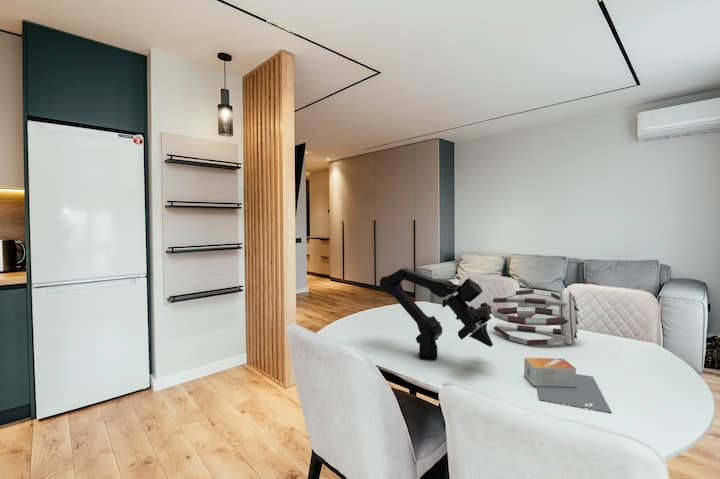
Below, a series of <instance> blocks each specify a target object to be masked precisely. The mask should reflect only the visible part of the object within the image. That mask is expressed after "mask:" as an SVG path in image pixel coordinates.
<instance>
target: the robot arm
mask: <svg viewBox="0 0 720 479" xmlns="http://www.w3.org/2000/svg"><path fill="white" fill-rule="evenodd" d="M404 281H407V282H410V283H413V284H415V285H417V286H420V287H423V288H425V289H428V290H429V291H430V292H431V293H432V294H433V295H436V296H437V297H439V298H444V299H442V303H441V304H442V305H441V307H442V308H445V307H447V306H448V307H449V308H450V309H451V311H452V312H453V314H455V316H456V317H455V319H456V321H458V320H460V322H461V324H462V325H463V327H462V328H461V329H459V330H458V331H457V336H458V337H459V339H460V340H462V341H463V339H465V338H466V337H469V338H471V339H474V340H476V341H477V342H480V343H482V344H483V345H486V346H488V347H489V348H492V347H493V346H494V344H493V342H492V339H491V337H490V335H489V332H488V330H487V326H488V321H490V320H491V319H492V317H491V315H492V314H493V312H492V310H491V309H492V306H490V304H489V303H487V301H486V302H482V303H481V304H480V306H479V307H477V308H475V307H474V306H472V305H469V304H468V303H472V302H473V301H474V300H475V299H476V298H477V297H478V296H480V295H481V294H482V293H483V289H482V287H481V285H480V284H478V283H476V282H475V281H474V280H472V279H471V278H467V279H465V280H464V281H463V283H462V284H460V285H459V284H455V283H454V282H453V281H452V280H448V279H443V278H441V279H440V278H434V277H430V276H428V275H425V274H422V273H419V272H416V271H415V270H411V269H409V268H407V267H405V268H400V269H398V270H396V271H395V272H393V273H391V274H390V275H386V276H382V277H381V278H380V280H379V287H380V289H381V290H382V291H383V292H385V293H386V294H388V295H390V296H392V297H393V298H394V299H395V300H396V302H398V303H399V304H400V306H402V308H403V309H404V310H405V311H406V313H407V314H408V315H409V316H410V317H411V318H412V320H414V322H415V323H416V325H417V328H418V331H419V333H420V334H418V335H417V336H416V337H415V340H416V341H415V342H416V343H417V344H418V345H419V346H418V347H419V349H418V350H419V352H418V358H419V360H426V361H427V360H430V361H436V360H437V358H438V344H437V342H436V341H437V340H439V337H441V336H442V334H443V326H442V325H441V324H442V323H441V322H440V321H439V320H438V319H437V318H436V316H434V315H431V316H428V315H426V314H425V313H424V311H423V310H422V309H421V308H420V307H419V306H418V304H416V302H415V301H414V300H413V299H412V298H411V297H410V295H408V293H407V292H406V291H405V290H404V289H403V284H402V282H404ZM454 294H455V295H454ZM448 296H449V297H448ZM446 297H448V298H446ZM467 302H468V303H467ZM468 335H469V336H468Z"/></svg>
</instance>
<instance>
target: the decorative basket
mask: <svg viewBox="0 0 720 479" xmlns="http://www.w3.org/2000/svg"><path fill="white" fill-rule="evenodd" d="M531 294H535V295H540V296H545V297H550V298H553V299H548V298H546V299H545V298H535V297H534V298H533V297H532V298H531V297H515V296H523V295H531ZM554 299H556V300H554ZM575 299H576V296H575V295H573V293H572V292H571V290H569V289H568V288H567V287H565V288H563V289H562V291H561V293H560V296H559V295H557V294H556V293H553V292H551V291H544V290H539V289H526V290H525V289H524V290H515V291H511V292H509V293H505V294H502V295H499V296H497V297H494V298H492V300H491V301H492V302H493V303H494V304H497V303H498V304H500V303H502V304H503V303H513V304H514V303H517V304H519V303H520V304H532V305H533V304H534V305H545V306H555V307H558V310H557V309H554V308H545V307H537V306H532V307H531V306H526V307H525V306H514V307H502V308H500V307H499V308H497V310H496V311H493V312H492V314H491V315H492V316H493V317H494V318H495V319H498V320H500V321H504V322H507V323H499V322H497V324H496V325H495V326H494V327H493V330H494V331H496V332H497V333H498V334H500V335H502V336H503V337H505V338H507V339H508V340H509V341H512V342H516V343H519V344H523V345H527V346H542V345H544V346H545V345H546V346H547V345H548V346H549V345H552V344H555V343H560V342H563V341H564V343H566V344H567V345H571V344H572V343H573V344H575V345H576V340H575V339H577V340H578V336H577V334H579V331H578V327H577V326H578V325H579V321H578V319H579V318H580V316H579V314H578V312H580V310H579V309H578V306H579V305H578V303H577V301H576V300H575ZM515 314H529V315H532V314H534V315H535V314H536V315H543V316H549V317H548V318H546V317H545V318H544V317H543V318H542V317H539V318H538V317H523V316H522V317H521V316H516V315H515ZM510 323H511V324H510ZM558 325H559V328H552V327H549V326H558ZM545 326H546V327H545ZM505 330H506V331H516V332H525V333H535V334H545V335H555V337H551V338H548V339H545V338H543V339H525V338H521V337H518V336H513V335H511V334H508V333H507V332H506V331H505Z"/></svg>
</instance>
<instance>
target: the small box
mask: <svg viewBox="0 0 720 479" xmlns="http://www.w3.org/2000/svg"><path fill="white" fill-rule="evenodd" d="M523 365H524V367H523V375H524V377H525V378H526V379H527V380H528V381H529V383H530V384H532V386H533V387H536V386H552V387H576V374H577V368H576V367H575V366H574V365H572V364H571V363H569V361H567V360H566V359H565V358H552V357H551V358H549V357H524V362H523Z"/></svg>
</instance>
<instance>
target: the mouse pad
mask: <svg viewBox="0 0 720 479" xmlns="http://www.w3.org/2000/svg"><path fill="white" fill-rule="evenodd" d="M535 387H536V392H537V399H539V400H541V402H545V401H547V403H550V402H554V403H553V404H556V403H560V404H559V405H562V404H565V405H564V406H567V405H571V406H570V407H573V406H575V407H574V408H578V407H582V408H581V409H584V408H588V409H587V410H590V409H594V410H593V411H595V410H598V411H597V412H601V411H603V412H602V413H607V412H610V413H609V414H612V411H611V409H610V407H609V405H608V403H607V401H606V399H605V397H604V395H603V393H602V391H601V389H600V387H599V385H598V383H597V382H596V380H595V377H594V376H593V375H592V376H591V375H584V374H579V373H578V374H577V373H576V387H552V386H535ZM539 400H538V401H539ZM586 403H587V404H586ZM588 403H589V404H588ZM590 403H591V404H593V405H592V406H590ZM585 404H586V405H589V406H590V407H589V406H585Z"/></svg>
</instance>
